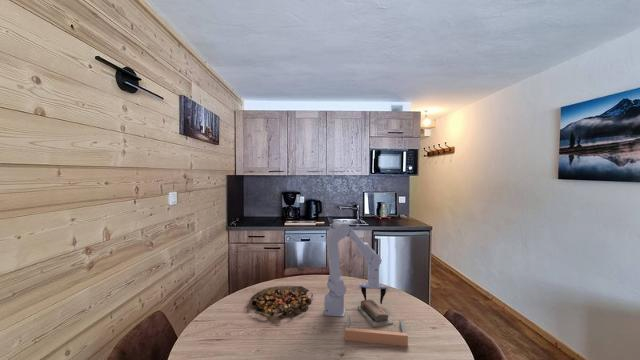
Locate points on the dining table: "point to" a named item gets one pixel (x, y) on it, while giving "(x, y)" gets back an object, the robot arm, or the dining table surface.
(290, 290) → the food dish
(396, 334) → the channel
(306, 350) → the dining table surface
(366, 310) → the packaged product
